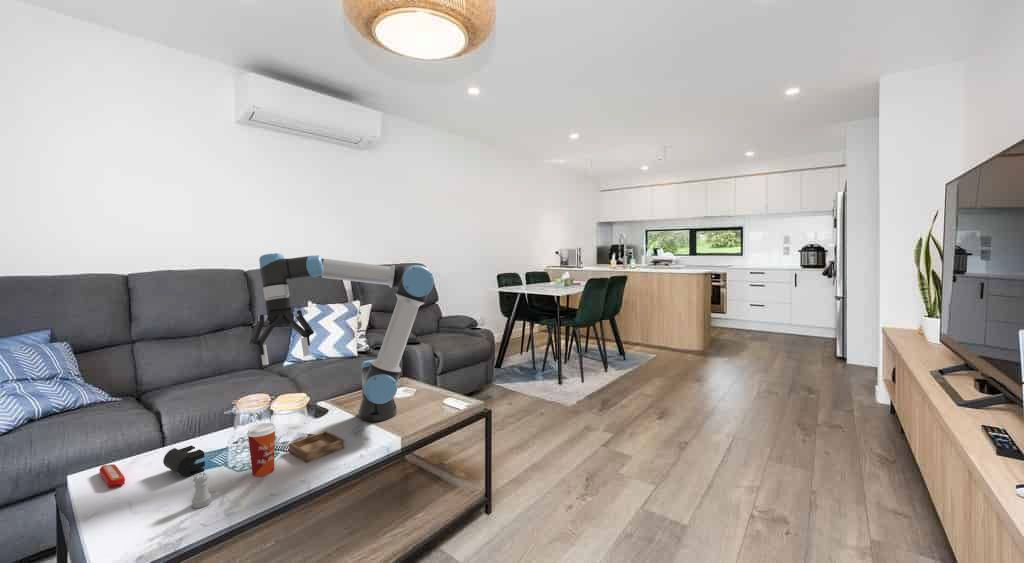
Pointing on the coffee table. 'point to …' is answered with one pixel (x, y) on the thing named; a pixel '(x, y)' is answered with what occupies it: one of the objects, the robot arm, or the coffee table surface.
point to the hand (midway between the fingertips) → (287, 360)
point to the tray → (316, 446)
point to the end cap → (184, 461)
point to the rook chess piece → (201, 492)
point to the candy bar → (112, 475)
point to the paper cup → (262, 448)
